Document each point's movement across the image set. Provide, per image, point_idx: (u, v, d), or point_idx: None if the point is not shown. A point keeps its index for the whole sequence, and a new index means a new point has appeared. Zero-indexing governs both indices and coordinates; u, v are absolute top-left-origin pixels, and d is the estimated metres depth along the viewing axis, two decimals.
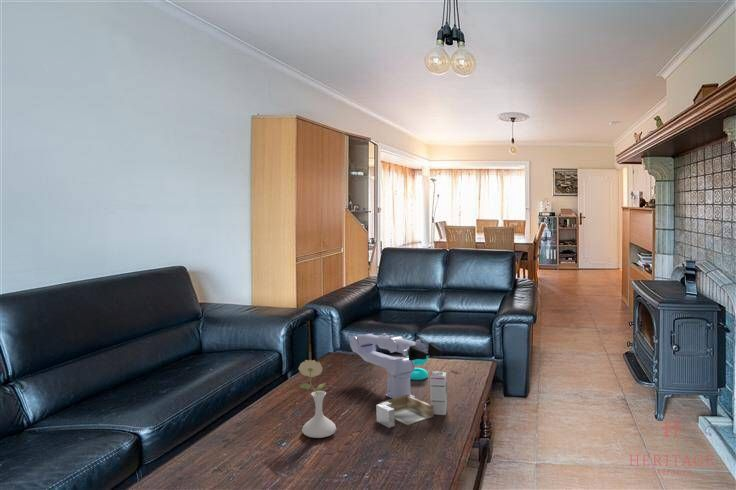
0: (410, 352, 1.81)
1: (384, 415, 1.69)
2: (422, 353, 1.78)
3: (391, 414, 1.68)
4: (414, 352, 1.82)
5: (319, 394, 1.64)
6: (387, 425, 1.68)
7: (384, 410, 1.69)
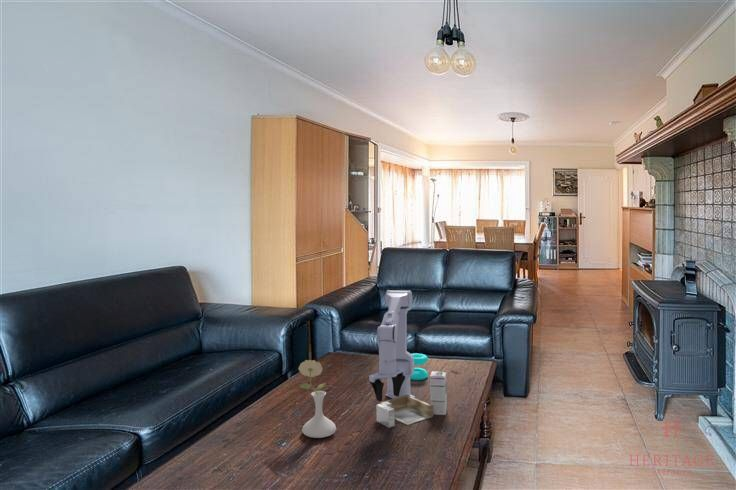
0: None
1: (384, 415, 1.69)
2: (379, 397, 1.66)
3: (391, 414, 1.68)
4: None
5: (319, 394, 1.64)
6: (387, 425, 1.68)
7: (384, 410, 1.69)
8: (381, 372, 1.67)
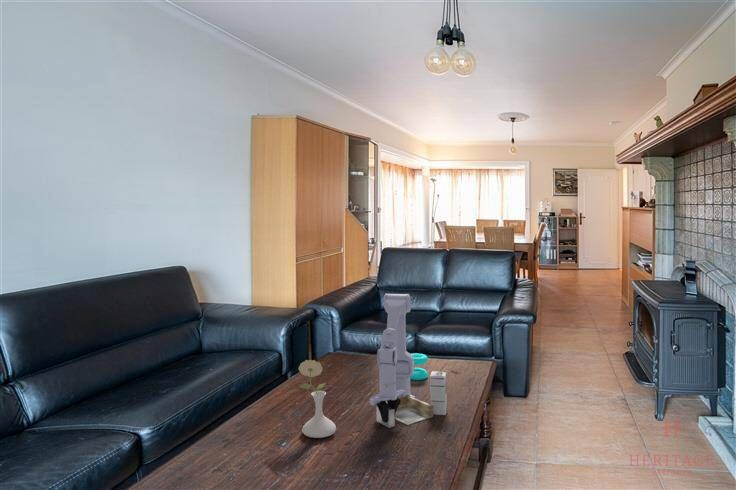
0: (380, 404, 1.67)
1: None
2: (384, 418, 1.68)
3: (391, 414, 1.68)
4: None
5: (319, 394, 1.64)
6: (387, 425, 1.68)
7: None
8: (381, 395, 1.67)
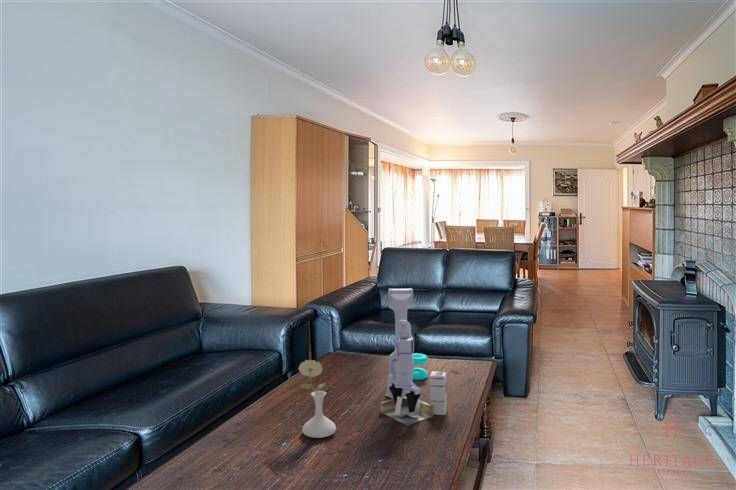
0: None
1: None
2: None
3: (399, 401, 1.74)
4: None
5: (319, 394, 1.64)
6: None
7: None
8: None
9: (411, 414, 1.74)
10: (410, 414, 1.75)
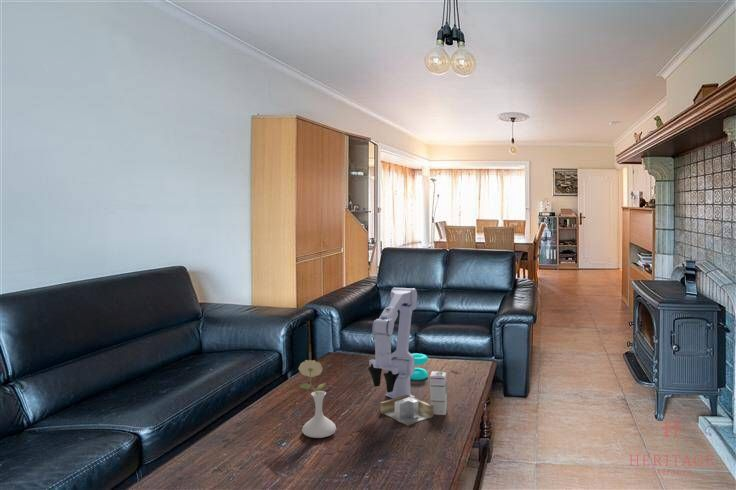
0: None
1: None
2: None
3: (396, 407, 1.73)
4: None
5: (319, 394, 1.64)
6: None
7: None
8: None
9: (411, 416, 1.74)
10: (410, 416, 1.74)
